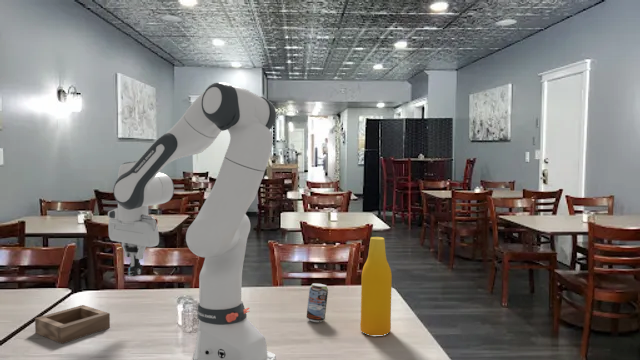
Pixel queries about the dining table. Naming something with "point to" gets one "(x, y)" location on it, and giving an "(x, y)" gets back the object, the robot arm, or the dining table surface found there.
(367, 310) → the beer bottle
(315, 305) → the beverage can
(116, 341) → the dining table surface
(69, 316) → the wooden tray
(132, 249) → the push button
